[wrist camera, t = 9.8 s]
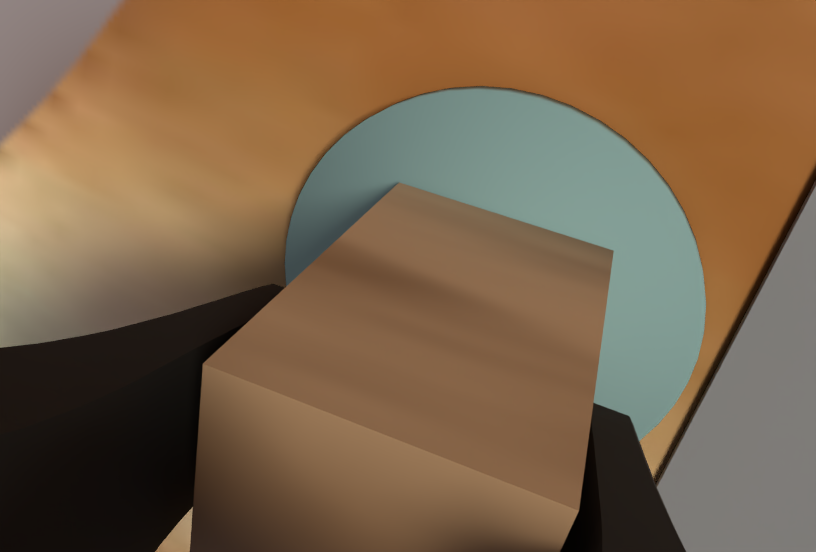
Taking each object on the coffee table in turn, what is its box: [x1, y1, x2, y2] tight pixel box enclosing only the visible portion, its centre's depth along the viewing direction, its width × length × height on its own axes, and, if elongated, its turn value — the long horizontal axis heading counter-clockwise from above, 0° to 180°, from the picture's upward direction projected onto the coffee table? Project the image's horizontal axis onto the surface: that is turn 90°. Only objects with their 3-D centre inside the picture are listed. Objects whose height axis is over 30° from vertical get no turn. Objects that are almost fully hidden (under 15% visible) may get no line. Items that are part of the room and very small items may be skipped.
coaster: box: [285, 86, 706, 441], centre depth 15 cm, size 9×9×1 cm
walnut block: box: [190, 183, 614, 552], centre depth 11 cm, size 4×4×7 cm
